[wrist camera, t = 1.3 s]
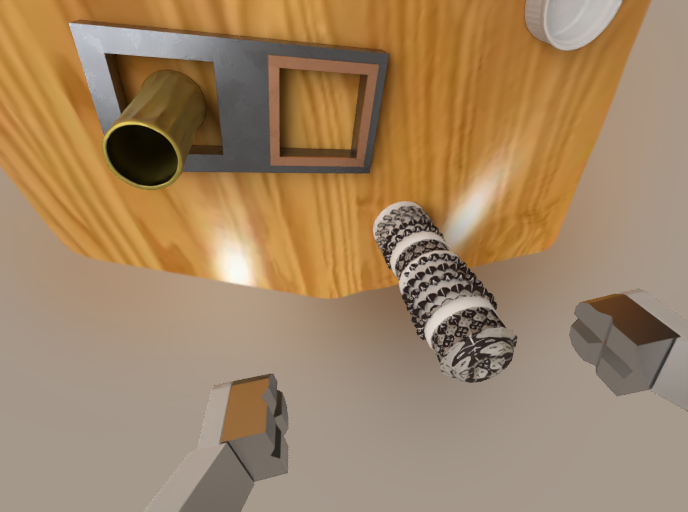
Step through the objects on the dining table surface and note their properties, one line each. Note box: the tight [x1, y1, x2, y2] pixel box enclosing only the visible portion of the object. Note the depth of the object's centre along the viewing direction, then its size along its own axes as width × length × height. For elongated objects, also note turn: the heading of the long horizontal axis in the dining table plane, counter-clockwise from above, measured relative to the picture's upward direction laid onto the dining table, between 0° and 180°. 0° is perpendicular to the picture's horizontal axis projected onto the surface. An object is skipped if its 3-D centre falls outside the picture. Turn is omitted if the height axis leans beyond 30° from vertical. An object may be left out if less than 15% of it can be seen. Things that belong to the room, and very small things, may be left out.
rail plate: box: [69, 20, 389, 173], centre depth 36 cm, size 13×28×3 cm, turn 83°
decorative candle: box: [373, 201, 517, 383], centre depth 43 cm, size 9×9×25 cm
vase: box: [102, 70, 206, 190], centre depth 30 cm, size 6×6×14 cm
